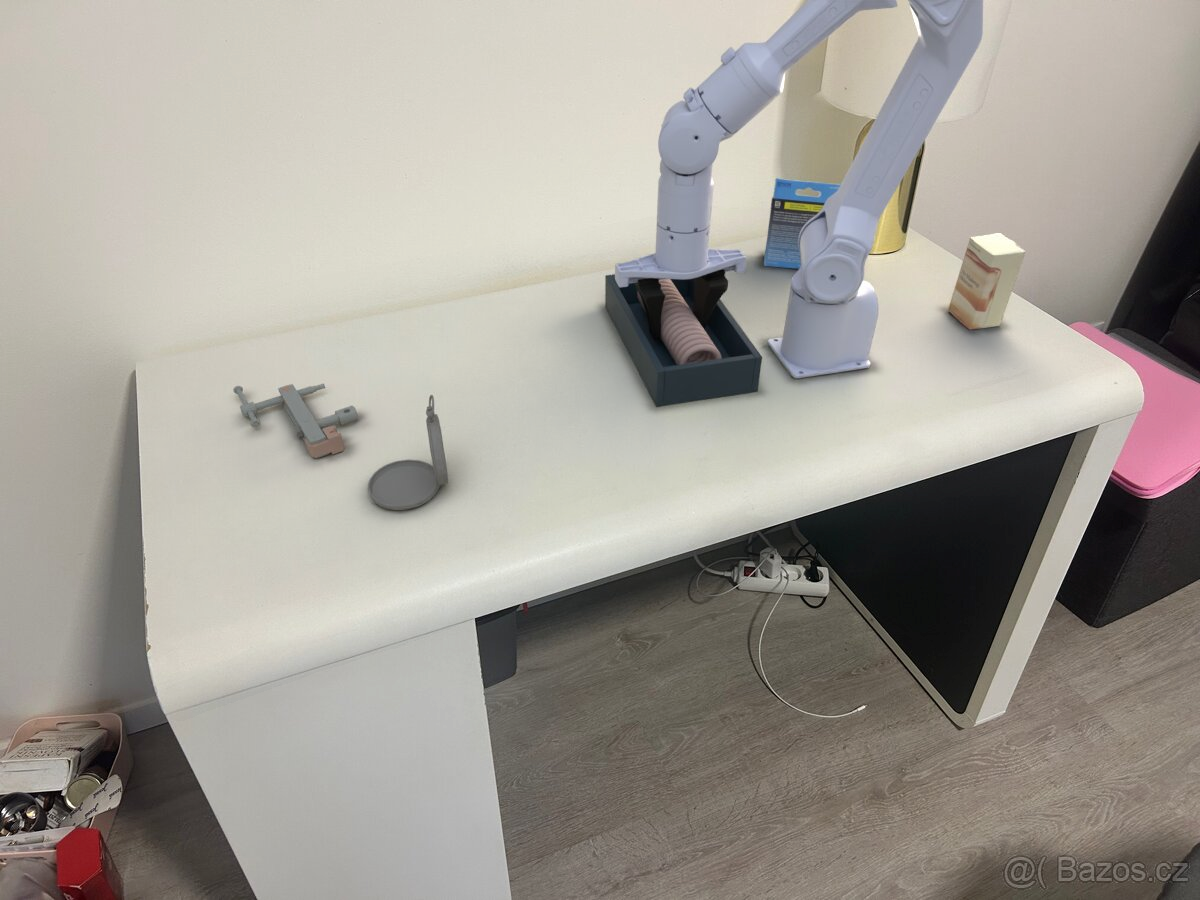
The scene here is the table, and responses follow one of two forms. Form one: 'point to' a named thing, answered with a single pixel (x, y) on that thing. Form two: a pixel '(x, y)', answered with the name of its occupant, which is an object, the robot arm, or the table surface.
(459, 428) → the table surface
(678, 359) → the coil
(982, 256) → the printed cream carton
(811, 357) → the robot arm
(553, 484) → the table surface
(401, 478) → the pocket watch
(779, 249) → the label tape box
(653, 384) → the bin
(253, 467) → the table surface
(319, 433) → the clamp
